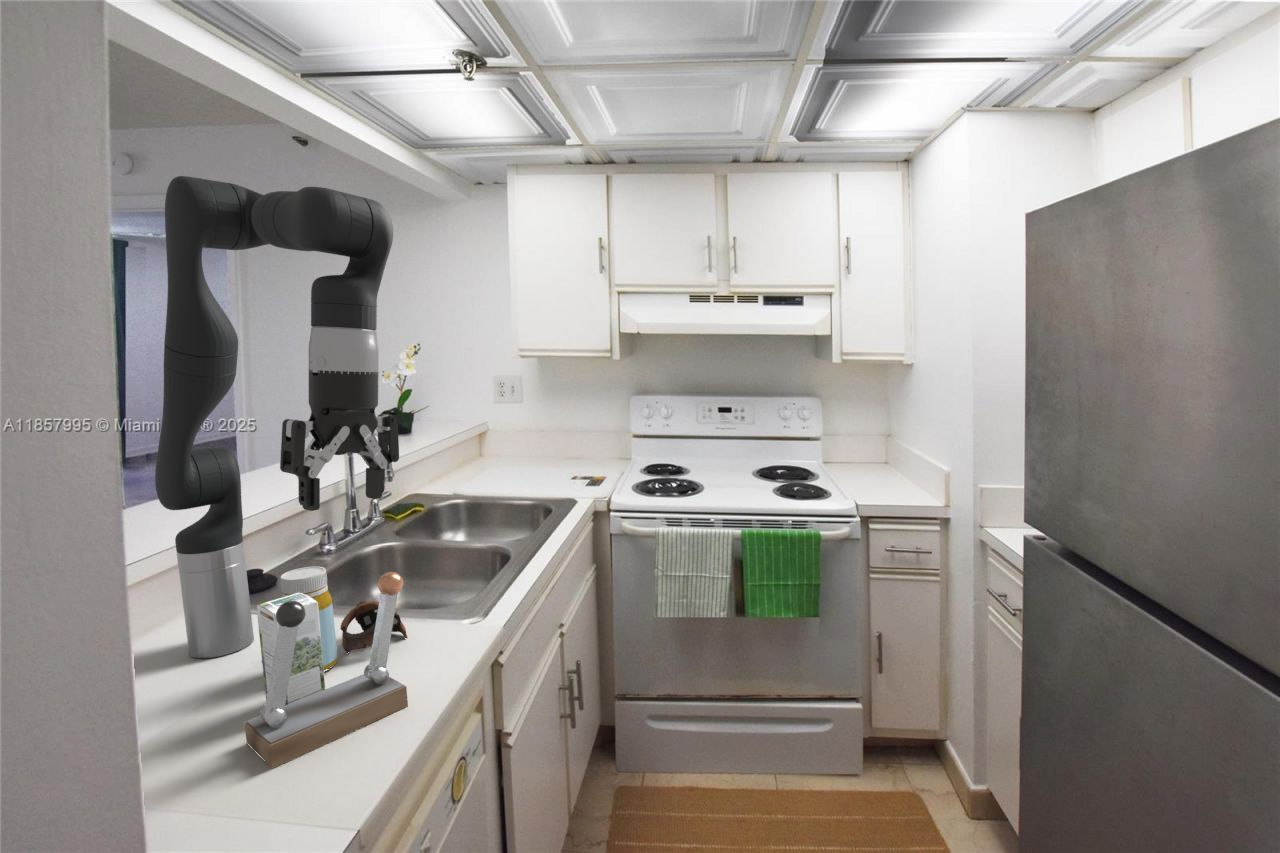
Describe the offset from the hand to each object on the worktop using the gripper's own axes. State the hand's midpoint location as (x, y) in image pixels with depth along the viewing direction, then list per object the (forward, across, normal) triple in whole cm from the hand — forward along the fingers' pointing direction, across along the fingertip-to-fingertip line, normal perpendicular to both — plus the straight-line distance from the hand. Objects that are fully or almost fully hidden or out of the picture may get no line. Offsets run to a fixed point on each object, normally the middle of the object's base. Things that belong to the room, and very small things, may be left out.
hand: (343, 503), depth 80 cm
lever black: (+26, +5, -6) cm, 27 cm away
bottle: (+30, -10, -21) cm, 38 cm away
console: (+30, -1, -4) cm, 30 cm away
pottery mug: (+30, -20, -20) cm, 41 cm away
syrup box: (+30, -3, -13) cm, 33 cm away
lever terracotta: (+25, -7, -3) cm, 26 cm away
